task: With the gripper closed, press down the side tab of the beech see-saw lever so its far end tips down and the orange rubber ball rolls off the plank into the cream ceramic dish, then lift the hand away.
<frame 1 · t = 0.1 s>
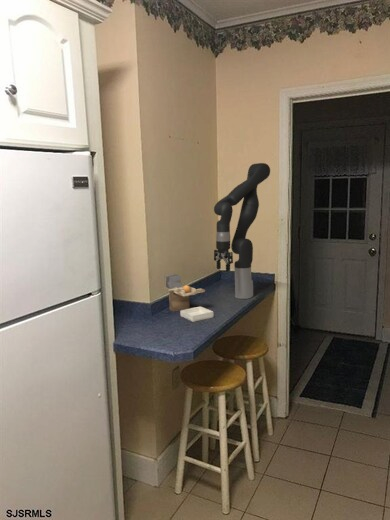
hand: (223, 270, 231), 17 cm above the worktop, tool pointing down, fingers open, 8 cm apart
lever: (184, 283, 221), point 13 cm above the worktop, hinge at 0.0°, touching ball
ball: (186, 292, 214), point 10 cm above the worktop, touching lever
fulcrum: (179, 308, 223), on the worktop
dish: (196, 316, 208), on the worktop
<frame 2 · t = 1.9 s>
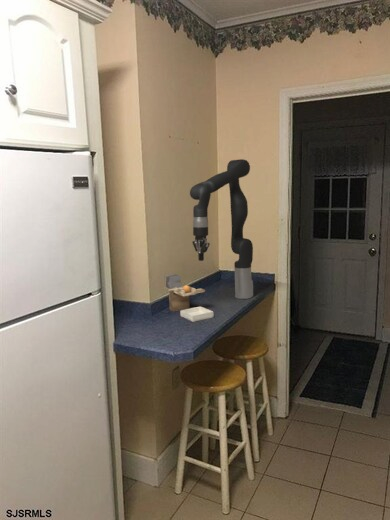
hand: (201, 260, 216), 25 cm above the worktop, tool pointing down, fingers closed
nothing on the worktop moved.
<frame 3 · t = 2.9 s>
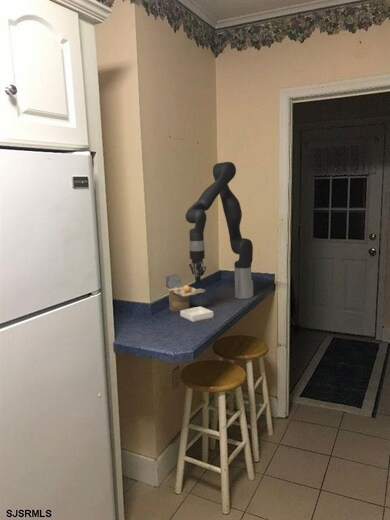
hand: (198, 283, 217), 14 cm above the worktop, tool pointing down, fingers closed
nothing on the worktop moved.
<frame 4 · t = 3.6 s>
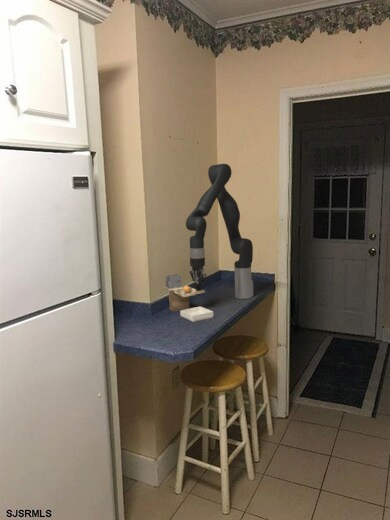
hand: (198, 290, 218), 10 cm above the worktop, tool pointing down, fingers closed
lever: (184, 284, 221), point 13 cm above the worktop, hinge at 1.8°, touching ball, gripper
everything else where it was.
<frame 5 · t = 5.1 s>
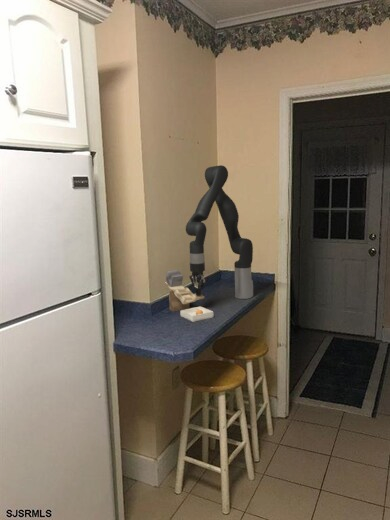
hand: (198, 295, 218), 8 cm above the worktop, tool pointing down, fingers closed
lever: (185, 285, 220), point 12 cm above the worktop, hinge at 22.1°, touching gripper
ball: (198, 314, 207), point 1 cm above the worktop, tilted 53°, touching dish
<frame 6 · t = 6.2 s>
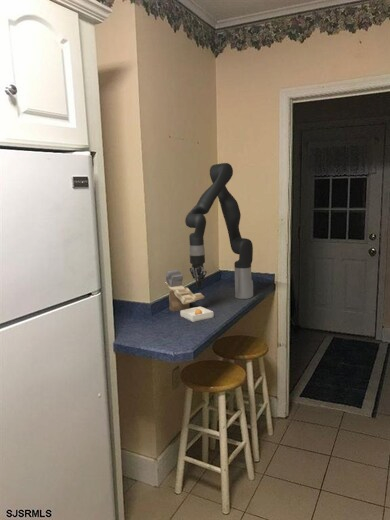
hand: (198, 287, 217), 12 cm above the worktop, tool pointing down, fingers closed
lever: (185, 285, 220), point 12 cm above the worktop, hinge at 22.1°
ball: (197, 315, 207), point 1 cm above the worktop, tilted 22°, touching dish
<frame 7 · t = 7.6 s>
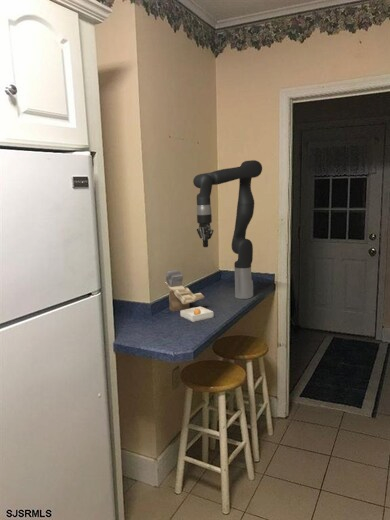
hand: (205, 247, 224), 31 cm above the worktop, tool pointing down, fingers closed
ball: (197, 315, 207), point 1 cm above the worktop, tilted 17°, touching dish
everything else where it was.
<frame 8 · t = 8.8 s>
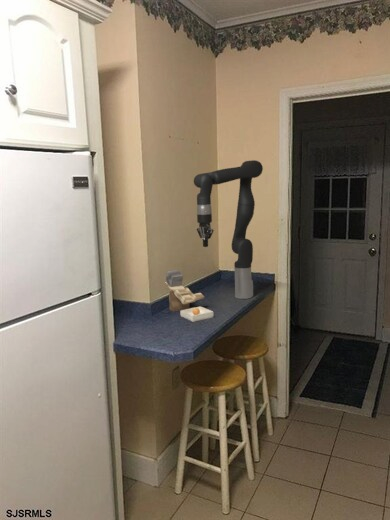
hand: (205, 246, 224), 31 cm above the worktop, tool pointing down, fingers closed
ball: (197, 314, 207), point 1 cm above the worktop, tilted 51°, touching dish
everything else where it was.
at the end: ball inside the target area on the dish (0.8 cm from its centre), point 1.3 cm above the dish's base; ball touching dish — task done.
